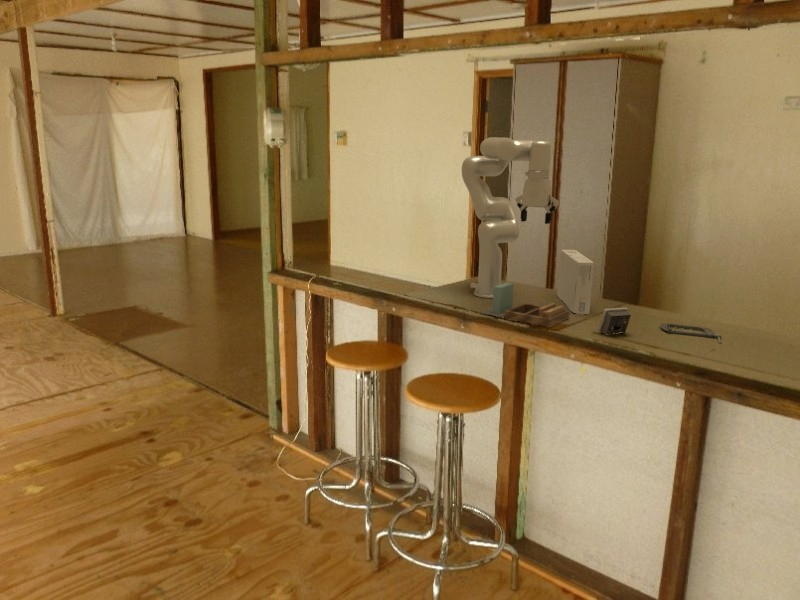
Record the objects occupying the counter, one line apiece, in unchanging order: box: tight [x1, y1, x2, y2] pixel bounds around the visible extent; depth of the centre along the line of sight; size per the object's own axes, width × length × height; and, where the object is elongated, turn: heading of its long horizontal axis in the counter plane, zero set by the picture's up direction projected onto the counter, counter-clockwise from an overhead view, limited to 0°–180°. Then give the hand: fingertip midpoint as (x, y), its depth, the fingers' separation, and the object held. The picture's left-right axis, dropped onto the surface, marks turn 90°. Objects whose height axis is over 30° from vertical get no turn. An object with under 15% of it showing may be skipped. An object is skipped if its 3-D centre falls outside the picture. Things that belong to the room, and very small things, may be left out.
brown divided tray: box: [503, 302, 571, 328], centre depth 247 cm, size 18×16×3 cm
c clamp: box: [659, 323, 722, 345], centre depth 232 cm, size 20×17×3 cm
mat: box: [480, 306, 515, 318], centre depth 256 cm, size 9×16×1 cm, turn 143°
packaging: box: [556, 249, 595, 315], centre depth 268 cm, size 30×6×20 cm, turn 179°
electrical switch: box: [597, 307, 632, 336], centre depth 229 cm, size 9×5×9 cm, turn 108°
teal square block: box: [491, 282, 515, 314], centre depth 255 cm, size 3×10×10 cm, turn 142°
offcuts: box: [539, 302, 565, 318], centre depth 244 cm, size 5×12×6 cm, turn 143°
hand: (535, 222), depth 250 cm, fingers open, 9 cm apart
